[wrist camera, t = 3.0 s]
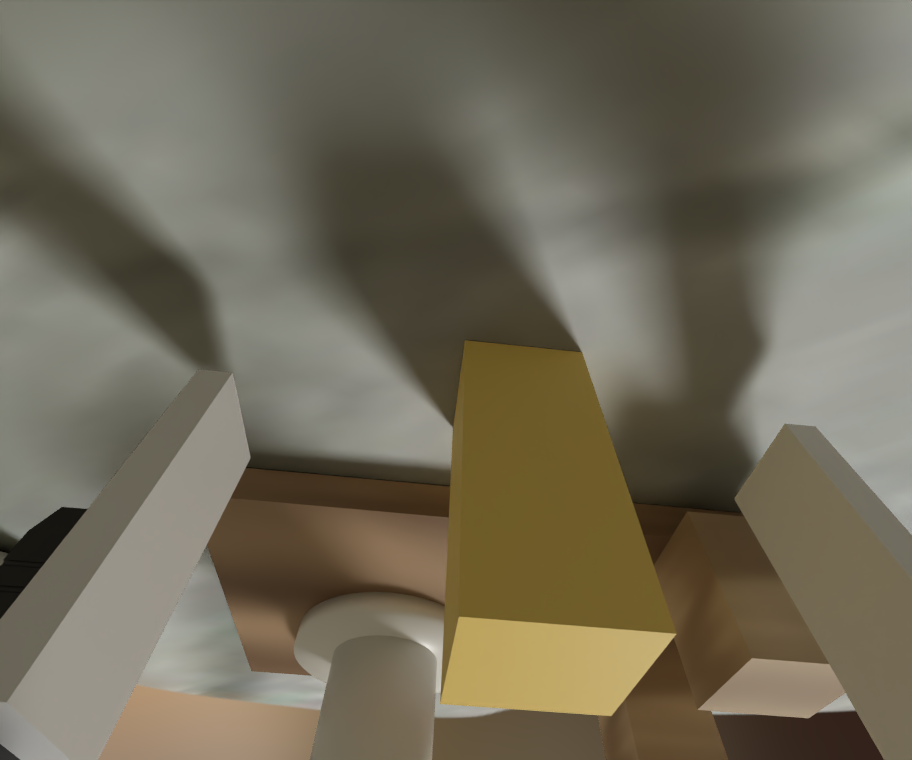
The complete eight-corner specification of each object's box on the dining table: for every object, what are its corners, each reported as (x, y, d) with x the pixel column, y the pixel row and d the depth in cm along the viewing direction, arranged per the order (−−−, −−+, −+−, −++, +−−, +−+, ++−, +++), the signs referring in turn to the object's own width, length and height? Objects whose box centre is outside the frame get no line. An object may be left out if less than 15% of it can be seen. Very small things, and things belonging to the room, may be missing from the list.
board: (198, 435, 14) (85, 605, 10) (843, 495, 15) (986, 677, 11) (261, 642, 22) (212, 786, 18) (681, 675, 23) (728, 820, 19)
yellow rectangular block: (464, 340, 12) (458, 616, 6) (582, 352, 12) (676, 634, 7) (453, 427, 14) (440, 704, 8) (555, 437, 14) (611, 715, 8)
